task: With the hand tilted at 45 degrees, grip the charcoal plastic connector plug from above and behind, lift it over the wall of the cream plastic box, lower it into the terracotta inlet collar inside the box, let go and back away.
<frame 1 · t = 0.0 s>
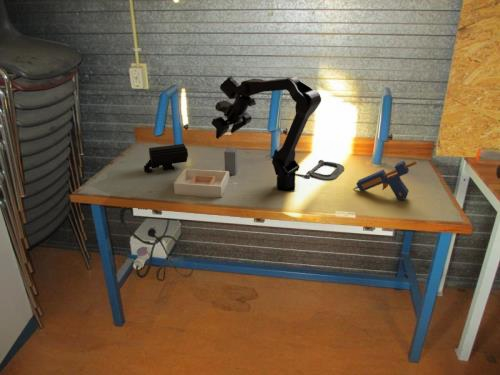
hand: (224, 135, 164), 15 cm above the table, tool tilted 35°, fingers open, 9 cm apart
c clamp: (320, 172, 168), on the table
security camera: (166, 170, 170), on the table
glue gun: (380, 195, 148), on the table
box: (202, 187, 154), on the table
plug: (231, 172, 167), on the table
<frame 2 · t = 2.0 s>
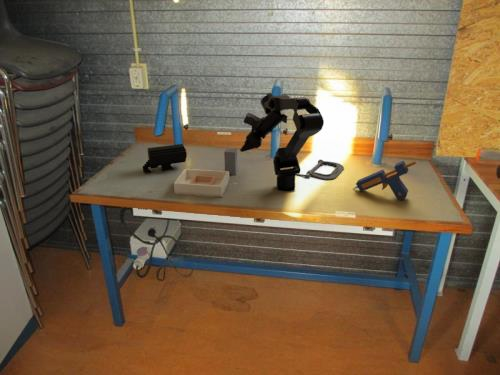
hand: (242, 147, 161), 12 cm above the table, tool tilted 45°, fingers open, 9 cm apart
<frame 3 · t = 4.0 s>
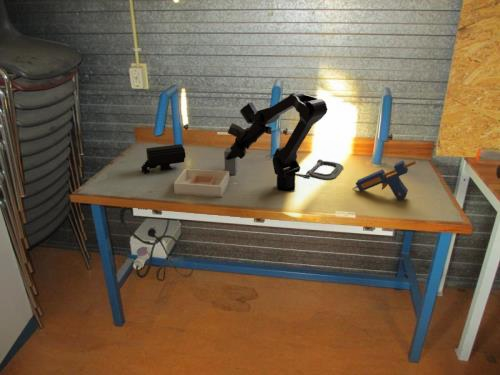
hand: (227, 156, 164), 7 cm above the table, tool tilted 45°, fingers closed on plug, 4 cm apart
plug: (231, 172, 167), on the table, touching gripper
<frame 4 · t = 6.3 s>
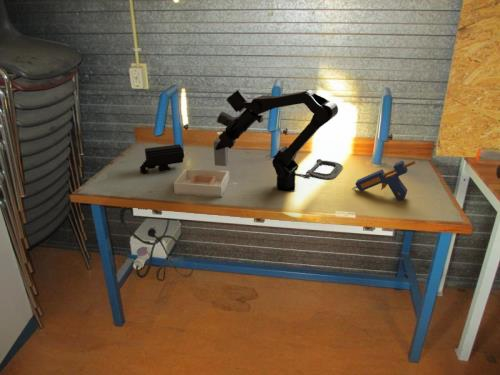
hand: (217, 147, 157), 13 cm above the table, tool tilted 45°, fingers closed on plug, 4 cm apart
plug: (221, 163, 160), point 6 cm above the table, touching gripper
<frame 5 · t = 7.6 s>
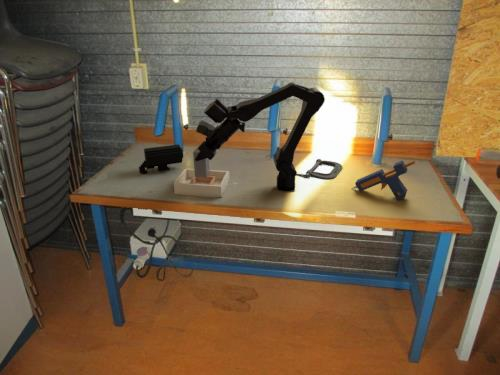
hand: (197, 157, 149), 12 cm above the table, tool tilted 45°, fingers closed on plug, 4 cm apart
plug: (202, 175, 152), point 5 cm above the table, touching gripper
when the fingers open (9 cm above the table, at t = 8.7 s): plug stays where it is, resting on box.
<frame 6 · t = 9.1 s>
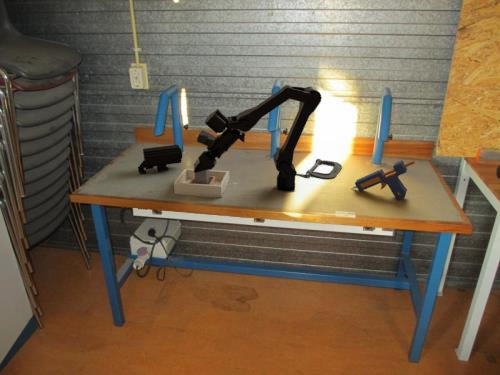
hand: (198, 166, 150), 9 cm above the table, tool tilted 45°, fingers open, 9 cm apart
plug: (202, 185, 154), point 1 cm above the table, touching box
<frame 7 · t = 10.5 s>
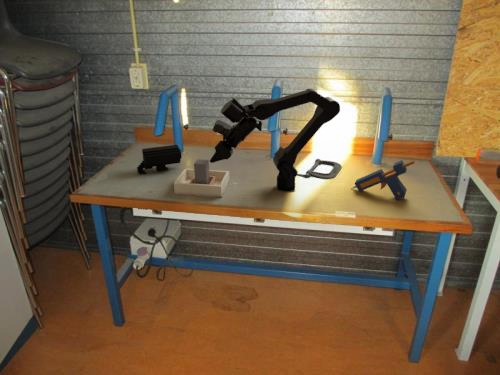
hand: (213, 157, 148), 13 cm above the table, tool tilted 45°, fingers open, 9 cm apart
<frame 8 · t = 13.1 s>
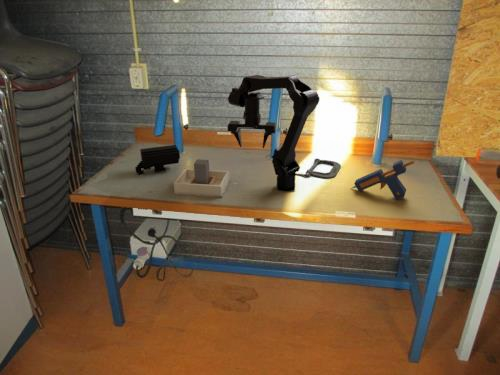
hand: (252, 147, 159), 12 cm above the table, tool pointing down, fingers open, 9 cm apart
at the end: plug 0.0 cm off-centre on the box, point 0.8 cm above the box's base; plug tilted 0°; the gripper is holding nothing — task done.
